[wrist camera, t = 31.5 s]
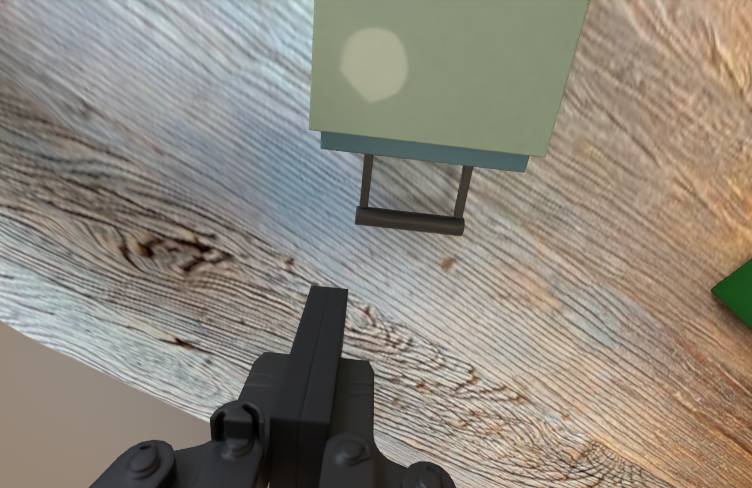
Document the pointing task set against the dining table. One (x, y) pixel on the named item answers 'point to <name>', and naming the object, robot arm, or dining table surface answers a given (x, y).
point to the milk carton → (738, 293)
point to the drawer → (424, 153)
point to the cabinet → (444, 70)
